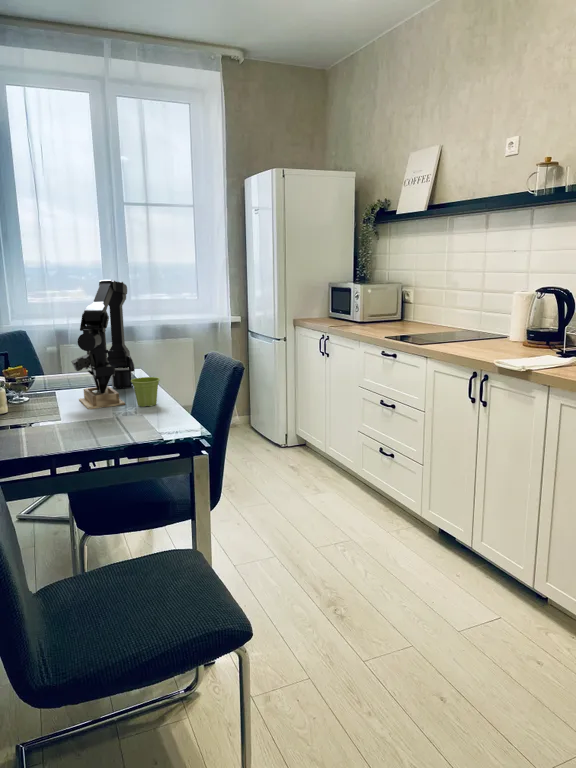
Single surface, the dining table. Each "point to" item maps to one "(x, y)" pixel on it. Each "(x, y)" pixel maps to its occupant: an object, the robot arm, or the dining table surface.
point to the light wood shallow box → (100, 399)
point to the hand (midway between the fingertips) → (101, 392)
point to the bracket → (97, 392)
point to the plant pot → (146, 390)
